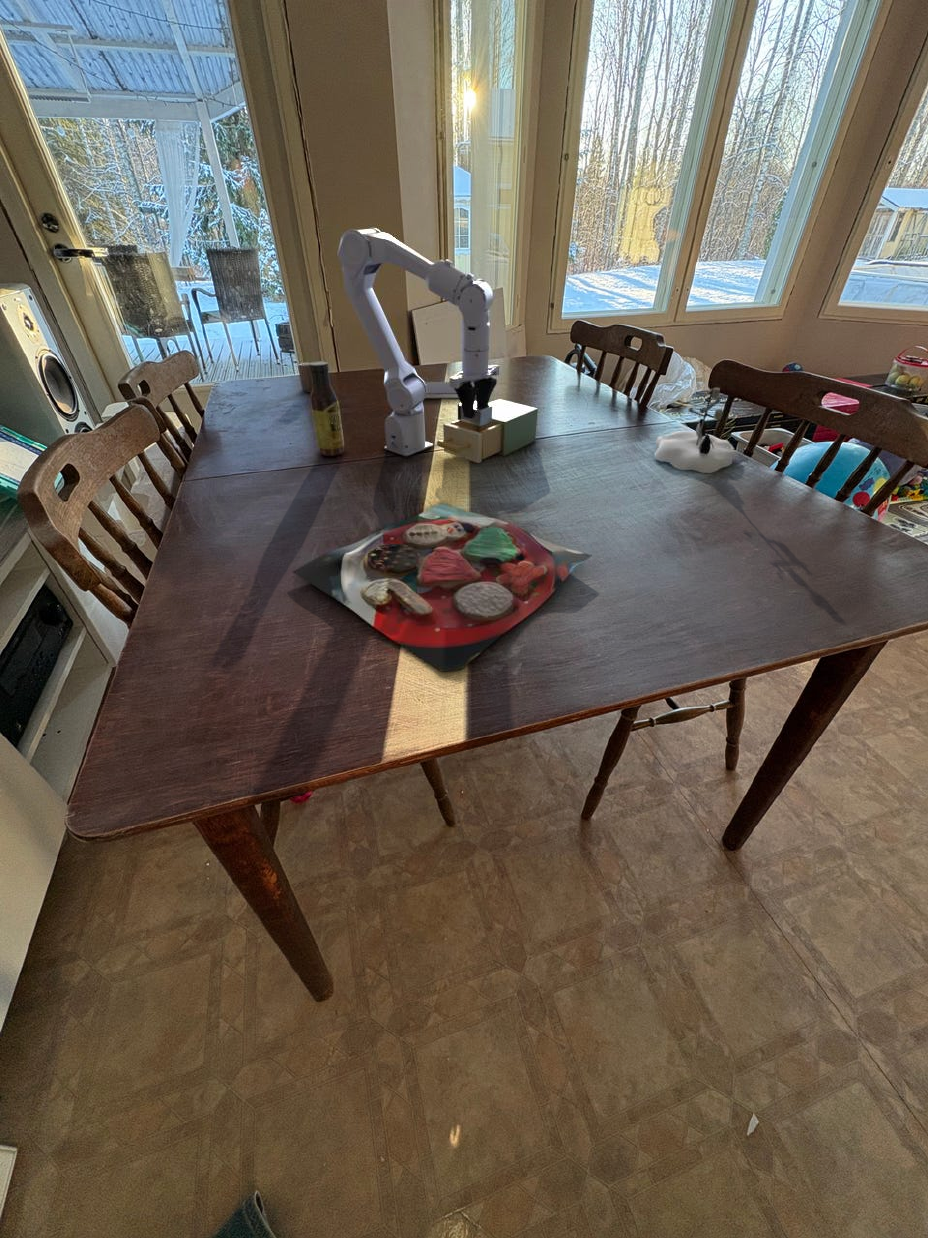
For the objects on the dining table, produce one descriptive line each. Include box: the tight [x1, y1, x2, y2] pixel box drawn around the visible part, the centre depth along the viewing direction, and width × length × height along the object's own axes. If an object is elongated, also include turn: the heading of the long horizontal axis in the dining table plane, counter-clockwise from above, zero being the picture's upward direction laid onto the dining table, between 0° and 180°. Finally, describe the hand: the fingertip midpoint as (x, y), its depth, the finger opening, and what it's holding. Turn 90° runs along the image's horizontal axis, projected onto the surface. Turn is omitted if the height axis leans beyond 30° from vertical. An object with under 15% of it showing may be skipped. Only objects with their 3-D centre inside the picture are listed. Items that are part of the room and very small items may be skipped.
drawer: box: [436, 419, 504, 464], centre depth 120 cm, size 17×11×6 cm, turn 139°
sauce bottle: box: [309, 361, 345, 457], centre depth 118 cm, size 7×6×20 cm
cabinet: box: [488, 398, 539, 456], centre depth 127 cm, size 13×12×8 cm
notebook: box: [424, 381, 476, 400], centre depth 163 cm, size 13×2×21 cm
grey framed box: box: [457, 400, 493, 426], centre depth 117 cm, size 4×7×4 cm, turn 49°
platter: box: [292, 503, 593, 672], centre depth 83 cm, size 35×35×2 cm
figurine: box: [654, 386, 738, 474], centre depth 116 cm, size 20×18×16 cm
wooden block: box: [297, 361, 314, 394], centre depth 163 cm, size 4×4×8 cm
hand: (474, 414), depth 117 cm, fingers closed on grey framed box, 4 cm apart
